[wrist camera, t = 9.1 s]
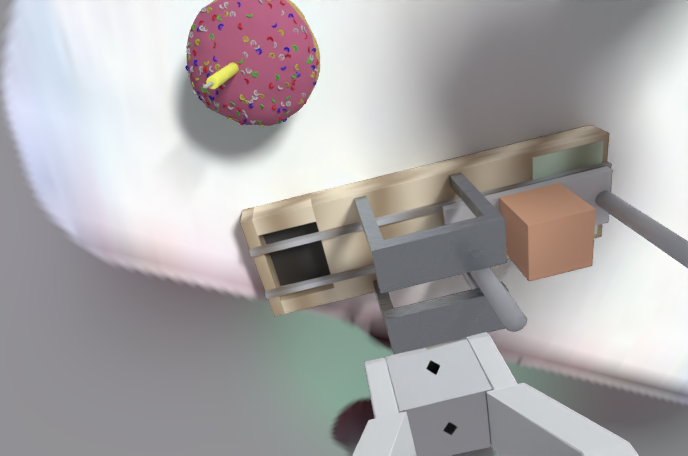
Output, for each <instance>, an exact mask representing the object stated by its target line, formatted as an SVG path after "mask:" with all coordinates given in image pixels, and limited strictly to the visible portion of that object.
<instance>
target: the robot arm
mask: <svg viewBox="0 0 688 456" xmlns="http://www.w3.org/2000/svg"><path fill="white" fill-rule="evenodd" d="M386 362H387V363H386ZM387 366H388V367H387ZM388 370H389V371H388ZM365 372H366V376H367V382H368V387H369V392H370V397H371V402H372V407H373V412H374V418H375V419H371V420H368V423H367V425H366V427H365V429H364V431H363V433H362V436H361V438H360V440H359V442H358V444H357V446H356V449H355V451H354V453H353V455H352V456H451V455H454V454H459V453H464V452H469V451H473V450H478V449H483V448H488V447H492V449H493V450H494V451H495V452H497V453H498V454H499V455H500V456H639V455H638V454H637V452H636V451H635V450H634V448H633V447H632V446H631V444H630V443H629V442H628V441H626V440H624V439H622V438H621V437H619V436H617V435H615V434H613V433H612V432H610V431H608V430H607V429H605V428H603V427H601V426H599V425H598V424H596V423H594V422H592V421H591V420H589V419H587V418H585V417H583V416H582V415H580V414H578V413H576V412H575V411H573V410H571V409H569V408H568V407H566V406H564V405H562V404H561V403H559V402H557V401H556V400H554V399H552V398H550V397H548V396H547V395H545V394H543V393H541V392H540V391H538V390H536V389H534V388H532V387H531V386H529V385H527V384H526V383H521V384H517V382H516V380H515V378H514V377H513V375H512V373H511V372H510V370H509V368H508V366H507V365H506V363H505V361H504V359H503V357H502V356H501V354H500V352H499V351H498V349H497V347H496V345H495V344H494V342H493V340H492V338H491V337H490V335H489V334H488V333H486V332H484V333H480V334H476V335H472V336H469V337H466V338H461V339H457V340H453V341H449V342H445V343H441V344H437V345H433V346H429V347H425V348H422V349H418V350H413V351H409V352H404V353H399V354H395V355H390V356H386V359H385V357H383V358H378V359H374V360H369V361H365Z"/></svg>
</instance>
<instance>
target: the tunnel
mask: <svg viewBox="0 0 688 456" xmlns="http://www.w3.org/2000/svg"><path fill="white" fill-rule="evenodd" d="M449 179H450V186H451V188H452V189H453V190H454V191H455V192H456V194H457V195H458V196H459V197H460V198H461V200H462V201H463V202H464V203H465V204H466V206H467V207H468V208H469V209H470V210H471V212H472V213H473V214H474V215H475V216H476V218H472V219H467V220H463V221H459V222H455V223H451V224H447V225H443V226H439V227H435V228H431V229H426V230H422V231H418V232H414V233H410V234H406V235H402V236H398V237H394V238H390V239H386V240H383V237H382V235H381V232H380V230H379V227H378V225H377V222H376V219H375V217H374V214H373V212H372V209H371V207H370V204H369V202H368V199H367V197H366V195H365V196H361V197H357V198H354V200H355V204H356V209H357V212H358V215H359V218H360V221H361V224H362V227H363V230H364V233H365V236H366V239H367V243H368V246H369V249H370V252H371V255H372V259H373V263H374V268H375V273H376V277H377V280H375V281H373V285H374V290H375V293H376V297H377V300H378V303H379V307H380V310H381V313H382V317H383V320H384V323H385V327H386V330H387V333H388V337H389V340H390V343H391V347H392V350H393V353H394V355H395V354H399V353H404V352H409V351H413V350H418V349H422V348H425V347H429V346H433V345H437V344H441V343H445V342H449V341H453V340H457V339H461V338H466V337H469V336H472V335H476V334H480V333H484V332H486V333H488V332H492V331H496V330H500V329H504V328H505V326H504V325H503V323H502V321H501V320H500V318H499V317H498V315H497V314H496V312H495V311H494V309H493V308H492V306H491V305H490V303H489V301H488V300H487V298H486V297H485V295H484V294H483V292H482V291H481V289H480V288H479V286H478V285H477V283H476V281H475V280H474V278H473V277H472V275H471V274H470V272H471V271H475V270H479V269H483V268H487V267H491V266H496V265H500V264H504V263H507V251H506V229H505V218H504V217H503V216H502V215H501V214H500V213H499V212H498V211H497V209H496V208H495V207H494V206H493V205H492V204H491V203H490V202H489V201H488V200H487V199H486V198H485V197H484V196H483V195H482V194H481V193H480V192H479V191H478V190H477V189H476V187H475V186H474V185H473V184H472V183H471V182H470V181H469V180H468V179H467V178H466V177H465V176H464V175H463V174H462V173H461V172H459V173H455V174H451V175H449ZM459 274H462V275H463V276H464V278H465V279H466V281H467V283H468V284H469V286H470V287H471V289H472V290H468V291H464V292H460V293H456V294H452V295H448V296H443V297H439V298H435V299H431V300H427V301H423V302H419V303H415V304H411V305H407V306H403V307H399V308H394V309H393V306H392V303H391V300H390V297H389V294H388V292H389V291H393V290H397V289H402V288H406V287H410V286H414V285H418V284H422V283H426V282H430V281H434V280H438V279H442V278H447V277H451V276H455V275H459ZM501 283H502V285H503V286H504V287H505V289H506V290H507V292H508V289H507V288H506V286H505V285H504V284H503V282H501Z"/></svg>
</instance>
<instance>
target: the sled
mask: <svg viewBox="0 0 688 456" xmlns="http://www.w3.org/2000/svg"><path fill="white" fill-rule="evenodd" d="M612 172H613V170H612V169H611V168H609V167H607V166H605V167H601V168H597V169H593V170H589V171H585V172H581V173H577V174H573V175H568V176H564V177H560V178H556V179H552V180H548V181H544V182H540V183H536V184H532V185H528V186H523V187H519V188H515V189H511V190H507V191H503V192H499V193H495V194H491V195H487V196H484V197H485V198H486V199H487V200H488V201H489V202H490V203H491V204H492V205H493V206H494V207H495V208H496V209H497V211H498V212H499V213H500V214H501V215H502V216H503V217H504V218H505V229H506V251H507V255H508V257H509V258H510V259H511V260H512V262H513V263H514V264H515V265H516V266H517V268H518V269H519V270H520V271H521V272H522V274H523V275H524V276H525V277H526V278H527V280H528V281H533V280H537V279H541V278H545V277H549V276H553V275H557V274H561V273H565V272H569V271H573V270H577V269H582V268H586V267H590V266H592V260H593V245H594V230H595V226H596V225H600V224H604V223H608V221H609V214H611V215H612V216H614V217H615V218H617V219H618V220H619V221H621V222H622V223H624V224H625V225H627V226H628V227H629V228H631V229H632V230H634V231H635V232H637V233H638V234H639V235H641V236H642V237H644V238H645V239H647V240H648V241H650V242H651V243H652V244H654V245H655V246H657V247H658V248H660V249H661V250H662V251H664V252H665V253H667V254H668V255H670V256H671V257H672V258H674V259H675V260H677V261H678V262H680V263H681V264H682V265H684V266H685V267H687V268H688V241H687V240H685V239H683V238H682V237H680V236H679V235H677V234H676V233H674V232H672V231H671V230H669V229H668V228H666V227H664V226H663V225H661V224H660V223H658V222H657V221H655V220H653V219H652V218H650V217H649V216H647V215H645V214H644V213H642V212H641V211H639V210H638V209H636V208H634V207H633V206H631V205H630V204H628V203H626V202H625V201H623V200H622V199H620V198H619V197H617V196H615V195H614V194H612V193H611V184H612ZM442 208H443V216H444V224H445V225H447V224H451V223H455V222H459V221H463V220H467V219H472V218H476V216H475V215H474V214H473V213H472V212H471V210H470V209H469V208H468V207H467V206H466V204H465V203H464V202H463V201H462V202H458V203H454V204H450V205H446V206H442ZM470 274H471V275H472V277H473V278H474V280H475V281H476V283H477V285H478V286H479V288H480V289H481V291H482V292H483V294H484V295H485V297H486V298H487V300H488V301H489V303H490V305H491V306H492V308H493V309H494V311H495V312H496V314H497V315H498V317H499V318H500V320H501V321H502V323H503V325H504V326H505V328H506V329H507V330H508V331H512V332H515V331H518V330H521V329H522V328H523V327H524V326H525V325H526V323H527V318H526V316H525V315H524V313H523V312H522V311H521V309H520V308H519V307H518V305H517V304H516V302H515V301H514V300H513V298H512V297H511V296H510V294H509V293H508V292H507V290H506V289H505V287H504V286H503V285H502V283H501V282H500V281H499V279H498V278H497V277H496V275H495V274H494V272H493V271H492V270H491V268H490V267H487V268H483V269H479V270H475V271H471V272H470Z"/></svg>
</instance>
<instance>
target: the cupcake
mask: <svg viewBox="0 0 688 456" xmlns="http://www.w3.org/2000/svg"><path fill="white" fill-rule="evenodd" d="M186 48H187V66H186V69H187V68H188V69H187V70H188V72H189V77H190V81H191V84H192V86H193V93H194V94H195V95H196V94H197V95H198V96H199V97H198V98H199V99H200V100H202V101H203V102H204V104H205V105H206V107H208V108H210V109H211V110H213V111H216V112H218V113H220V114H222V115H224V116H226V117H227V118H228V119H232V120H234V121H237V122H239V123H240V124H241V123H242V124H241V125H244V124H246V125H260V126H262V127H264V125H267V126H270V125H274V124H277V123H281V122H282V121H283V122H285V121H286V120H287V118H288V117H290V116H291V115H293V114H294V113H296V112H297V111H299V110H300V109H301V108H302V107H303V105H304V104H306V102H307V99H308V98H309V96H310V94H311V92H312V91H313V89H314V87H315V85H316V82H317V80H318V76H319V72H320V54H319V49H318V45H317V42H316V40H315V37H314V35H313V33H312V31H311V29H310V27H309V25H308V23H307V22H306V20H305V17H304V15H303V14H302V12H301V11H300V10H299V9H298V8H297V6H296V5H295V4H294V3H292V2H291V1H290V0H214V1H213V2H212V3H211V4H209V5H208V6H206V7H204V8H202V9H201V11H200V12H199V14H198V15H197V17H196V19H195V21H194V23H193V25H192V27H191V30H190V33H189V37H188V42H187V46H186ZM194 90H195V92H194Z"/></svg>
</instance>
